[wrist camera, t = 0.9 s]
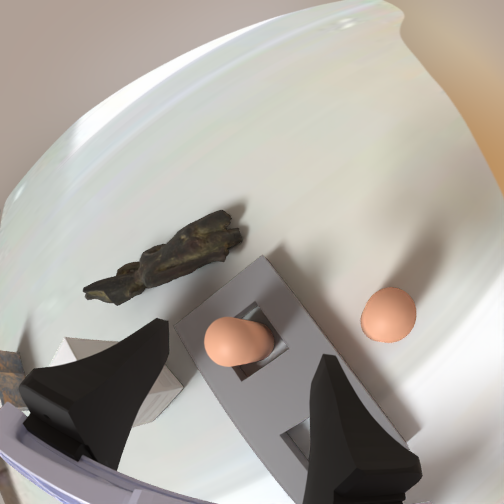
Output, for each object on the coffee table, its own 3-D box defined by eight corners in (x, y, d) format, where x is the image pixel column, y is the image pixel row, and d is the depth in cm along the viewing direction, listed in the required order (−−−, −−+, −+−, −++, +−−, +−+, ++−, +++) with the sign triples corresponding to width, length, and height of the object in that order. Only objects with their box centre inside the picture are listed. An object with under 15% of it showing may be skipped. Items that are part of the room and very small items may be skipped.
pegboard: (406, 442, 21) (409, 449, 19) (305, 501, 22) (301, 510, 20) (268, 259, 31) (262, 254, 29) (183, 327, 32) (173, 326, 30)
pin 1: (282, 346, 28) (261, 348, 22) (250, 368, 28) (221, 376, 22) (259, 314, 30) (232, 306, 23) (229, 336, 30) (196, 335, 24)
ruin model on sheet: (15, 358, 43) (-23, 353, 34) (20, 353, 42) (-19, 347, 33) (30, 410, 38) (-10, 411, 29) (35, 406, 38) (-7, 407, 29)
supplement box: (148, 341, 33) (64, 333, 22) (186, 387, 30) (103, 402, 18) (118, 378, 33) (38, 380, 22) (151, 423, 30) (71, 443, 18)
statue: (234, 222, 37) (101, 291, 36) (221, 193, 32) (75, 273, 31) (254, 261, 33) (108, 333, 32) (243, 234, 29) (79, 318, 28)
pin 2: (408, 322, 25) (426, 317, 18) (377, 350, 25) (385, 353, 19) (383, 291, 26) (393, 276, 20) (352, 317, 27) (352, 311, 20)
